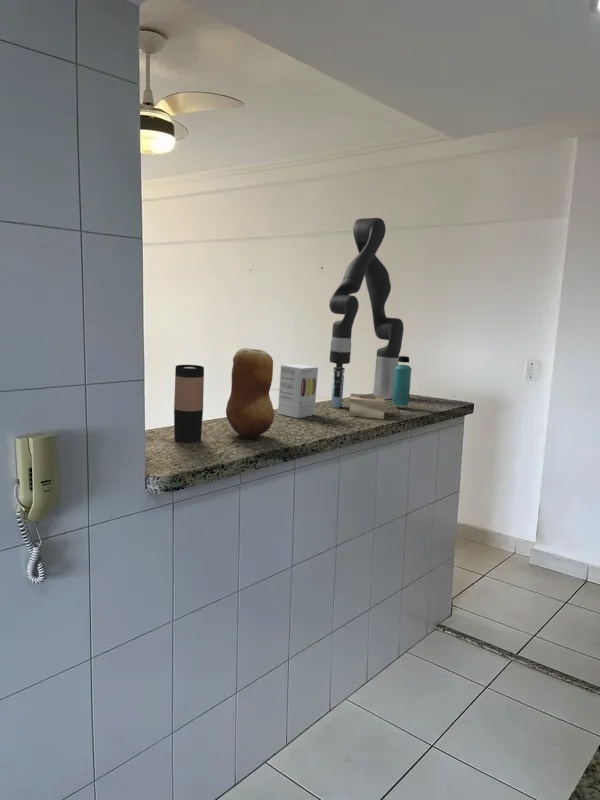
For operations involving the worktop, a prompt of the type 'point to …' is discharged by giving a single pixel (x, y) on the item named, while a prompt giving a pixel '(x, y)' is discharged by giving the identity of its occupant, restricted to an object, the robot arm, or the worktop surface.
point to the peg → (337, 400)
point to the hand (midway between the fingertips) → (337, 395)
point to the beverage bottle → (401, 383)
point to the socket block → (367, 406)
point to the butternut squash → (251, 393)
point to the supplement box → (297, 390)
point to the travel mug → (188, 403)
